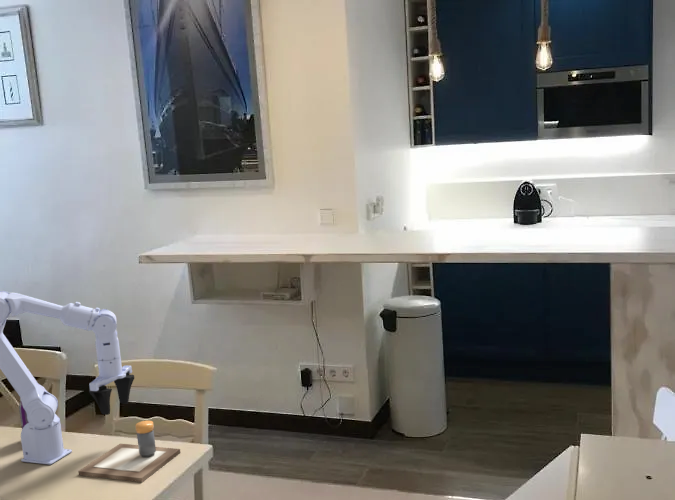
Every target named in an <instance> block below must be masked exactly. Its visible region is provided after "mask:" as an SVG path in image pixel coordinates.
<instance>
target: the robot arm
mask: <svg viewBox="0 0 675 500" xmlns="http://www.w3.org/2000/svg"><path fill="white" fill-rule="evenodd" d="M24 313H28V314H33V315H39V316H44V317H49V318H54V319H59V320H60V321H61V323H62V324H63V326H67V327H71V328H75V329H79V330H84V331H87V332H89V331H92V332H93V334H94V336H95V344H94V345H95V351H96V358H97V359H96V361H97V367H98V376H97V377H95V379H93V380H92V381H91V382H89V385H88V386H89V388H88V392H89V394H90V396H92V398H93V399H94V400H95V402H96V404H97V406H98V408H99V411H100V413H101V414H102V415H105V416H107V415H111V394H112V388H107V387H105V386H107V385H108V384H110V383H114V384H115V387H116V391H117V395H118V400H119V403H120V404H125V405H127V404H129V401H130V393H131V389H132V388H131V387H132V385H133V382H134V380H135V375H134V374H132V373H133V367H132V365H127V364H126V365H123V366H122V364H123V363H122V357H121V348H120V339H119V338H118V334H119V333H118V330H117V327H118V323H117V322H118V319H117V316H116V314H115V313H114V312H113V311H112V310H109V309H107V308H102V309H101V308H100V307H95V308H93V307H88V306H85V305H82V304H81V302H79V301H75V303H74V302H69V303H67V304H64V305H61V304H56V303H54V302H49V301H46V300H43V299H40V298H36V297H32V296H30V295H26V294H24V293H23V294H22V293H19V292H13V291H12V292H9V291H6V290H0V371H1V372H2V373H3V375H4V376H5V378H6V379H7V381H8V382H9V383H10V385H11V386H12V388H13V389H14V391H15V392H16V393H17V394H18V396H19V398H21V401H22V405H23V408H24V409H25V411H26V413H27V420H28V422H29V423H27V424H26V425H25V426H24V427H23V429H22V428H21V431H20V432H21V433H20V442H21V449H22V456H23V458H22V459H20V460H21V462H24V463H32V464H39V465H40V464H43V465H53V464H54V463H56V462H58V461H59V460H61V459H62V458H64V457H66V456H68V455H69V454H70V453H72V452H73V450H72V449H69V448H64V447H65V446H64V441H63V440H64V439H63V435H62V434H63V433H62V425H61V419H60V417H59V416H58V415H57V414H56V411H57V410H58V407H59V401H58V398H57V397H56V396H55V395H54V394H52V393H50V392H49V391H48V390H47V389H46V388H45V387H44V386H43V385H41V384H40V383H38V381H37V380H36V378H35V377H34V376H33V373H31V371H30V369H29V368H28V367H27V365H26V364H25V363H24V361H23V359H21V357H20V356H19V354H18V352H17V351H16V349H14V347H13V345H12V344H11V342H10V341H9V339H8V338H7V337H6V335H5V334H4V328H5V326H6V322H7V320H8V317H9V316H10V314H11V318H12V317H15V316H18V315H21V314H24Z"/></svg>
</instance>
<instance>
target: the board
mask: <svg viewBox="0 0 675 500" xmlns="http://www.w3.org/2000/svg"><path fill="white" fill-rule="evenodd" d="M179 454H181V449H180V448H173V447H172V448H171V447H162V446H161V447H160V446H156V452H155V454H154V455H153V456H151V457H148V458H143V457H141V455H140V454H139V447H138V444H132V443H131V444H130V443H119V444H117V445H116V446H114V447H113V448H111V449H109V450H108V451H106V452H105V453H103V454H102V455H100V456H99V457H97V458H96V459H94V460H93V461H91V462H90V463H88V464H86V465H85V466H84V467H82V468H81V469H79V470H78V471H77V474H78V476H83V477H93V478H100V479H101V478H102V479H103V478H104V479H110V480H111V479H112V480H120V481H128V482H135V483H136V482H137V483H143V482H145V481H146V480H148V479H149V478H150V477H151V476H153V474H156V473H157V471H159V470H160V469H162V467H164V466H165V465H167V464H168V463H169V462H171V460H173V459H175V458H176V457H177V456H178V455H179Z"/></svg>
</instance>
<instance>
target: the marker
mask: <svg viewBox="0 0 675 500" xmlns="http://www.w3.org/2000/svg"><path fill="white" fill-rule="evenodd" d="M154 427H155V426H154V421H152V420H142V421H139V422H137V423H136V424H135V432H136V436H137V437H136V438H137V445H138V447H139V454H140V455H141V457H143V458H148V457H151V456H153V455H154V454H155V452H156V447H157V446H156V440H155V428H154Z"/></svg>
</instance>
